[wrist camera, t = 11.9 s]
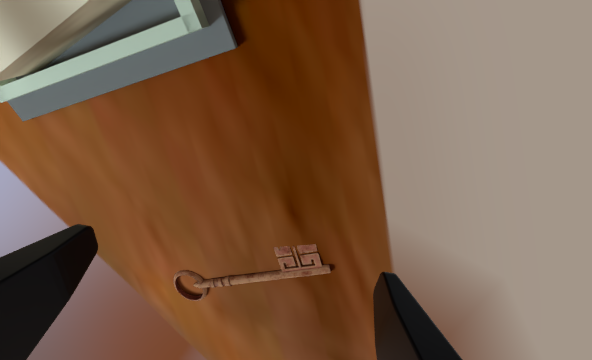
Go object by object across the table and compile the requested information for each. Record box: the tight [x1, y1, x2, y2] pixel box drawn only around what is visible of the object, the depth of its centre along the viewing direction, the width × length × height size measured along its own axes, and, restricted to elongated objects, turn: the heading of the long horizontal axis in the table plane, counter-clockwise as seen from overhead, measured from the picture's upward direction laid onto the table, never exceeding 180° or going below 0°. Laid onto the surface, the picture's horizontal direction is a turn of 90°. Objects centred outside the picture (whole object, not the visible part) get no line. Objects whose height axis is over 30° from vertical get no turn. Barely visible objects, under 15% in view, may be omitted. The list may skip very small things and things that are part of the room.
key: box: [174, 244, 331, 301], centre depth 27 cm, size 6×1×15 cm
